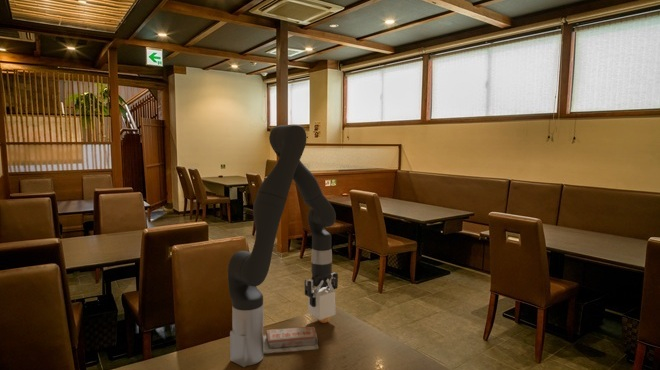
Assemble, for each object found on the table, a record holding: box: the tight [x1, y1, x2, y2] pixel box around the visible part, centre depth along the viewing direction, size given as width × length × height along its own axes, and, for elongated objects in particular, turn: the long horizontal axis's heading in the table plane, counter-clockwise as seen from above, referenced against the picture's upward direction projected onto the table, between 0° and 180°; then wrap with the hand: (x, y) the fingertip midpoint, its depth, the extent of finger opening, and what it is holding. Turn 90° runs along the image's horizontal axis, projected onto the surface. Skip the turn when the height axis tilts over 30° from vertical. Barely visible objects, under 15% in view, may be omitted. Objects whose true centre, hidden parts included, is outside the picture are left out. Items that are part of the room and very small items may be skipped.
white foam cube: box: [307, 287, 337, 321], centre depth 145 cm, size 7×7×9 cm
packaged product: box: [263, 326, 319, 354], centre depth 130 cm, size 18×5×10 cm
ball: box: [317, 316, 332, 324], centre depth 145 cm, size 5×5×5 cm
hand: (321, 303), depth 145 cm, fingers closed on white foam cube, 7 cm apart
